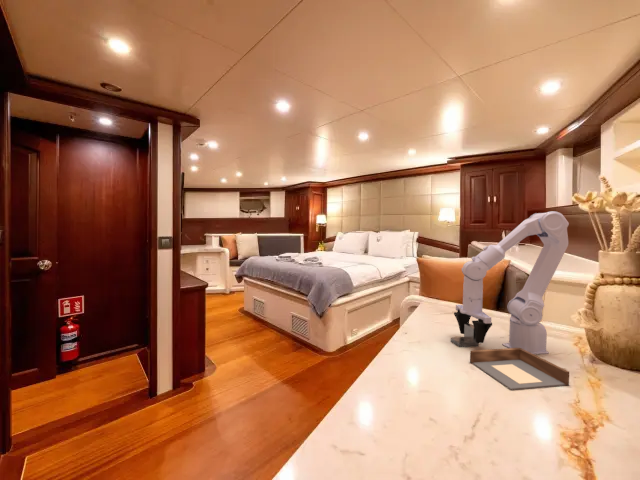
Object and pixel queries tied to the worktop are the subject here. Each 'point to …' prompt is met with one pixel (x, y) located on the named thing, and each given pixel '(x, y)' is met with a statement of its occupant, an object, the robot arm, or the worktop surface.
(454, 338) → the angle bracket
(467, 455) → the worktop surface
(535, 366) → the corner walls
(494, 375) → the corner mat
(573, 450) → the worktop surface
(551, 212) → the robot arm
